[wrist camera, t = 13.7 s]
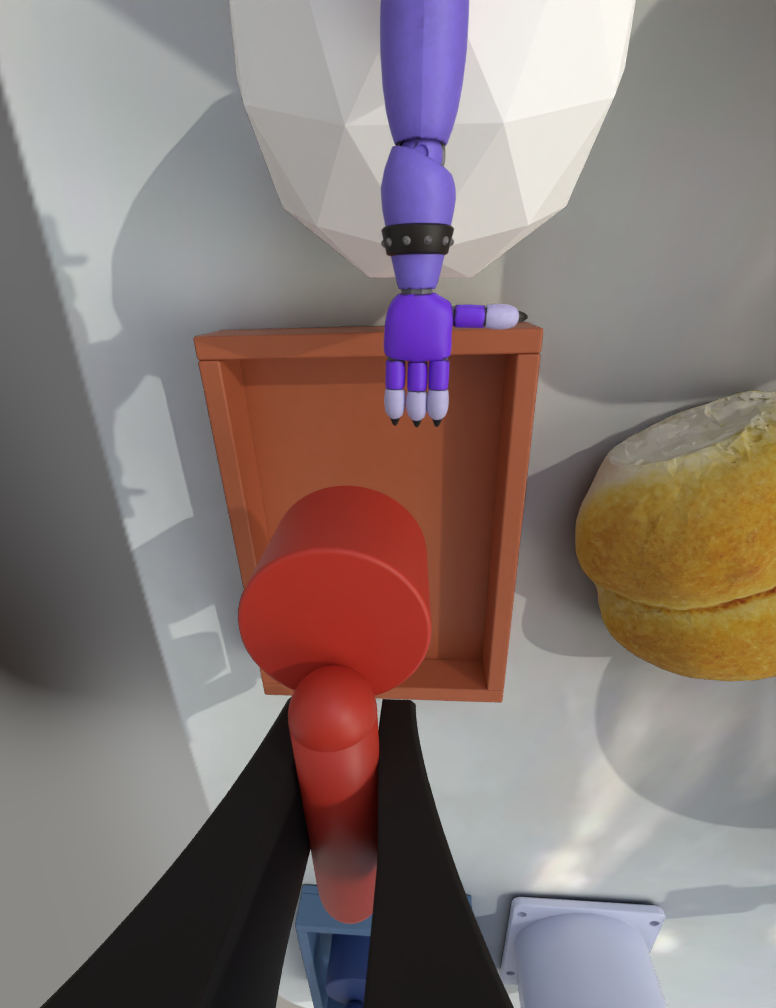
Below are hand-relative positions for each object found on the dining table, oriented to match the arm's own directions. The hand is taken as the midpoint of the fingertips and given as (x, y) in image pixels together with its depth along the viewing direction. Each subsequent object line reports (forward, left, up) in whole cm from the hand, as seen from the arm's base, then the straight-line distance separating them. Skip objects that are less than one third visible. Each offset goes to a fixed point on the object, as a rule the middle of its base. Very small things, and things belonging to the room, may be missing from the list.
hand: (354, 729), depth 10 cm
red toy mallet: (+1, 0, -2) cm, 2 cm away
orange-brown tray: (+2, 0, -7) cm, 7 cm away
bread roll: (+2, -11, -7) cm, 13 cm away
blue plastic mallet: (-29, +2, -6) cm, 29 cm away
